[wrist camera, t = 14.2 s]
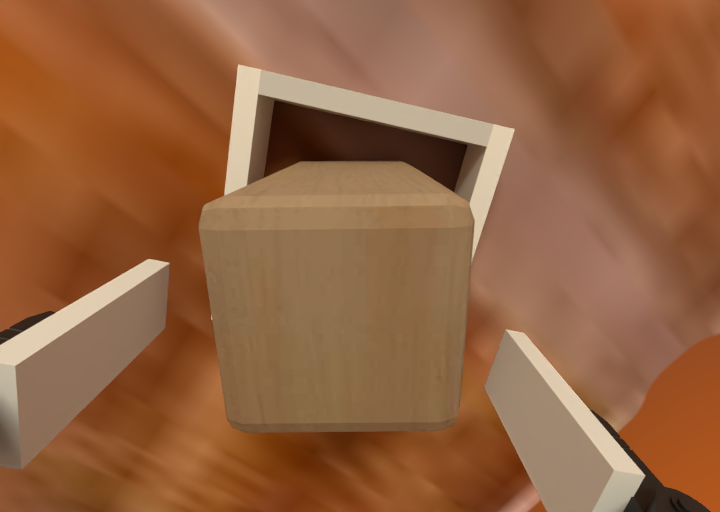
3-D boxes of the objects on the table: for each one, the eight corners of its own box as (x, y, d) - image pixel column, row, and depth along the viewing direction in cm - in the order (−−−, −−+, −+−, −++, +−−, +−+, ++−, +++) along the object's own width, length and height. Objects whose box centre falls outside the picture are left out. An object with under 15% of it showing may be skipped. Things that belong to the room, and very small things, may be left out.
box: (231, 294, 35) (211, 319, 30) (258, 75, 30) (238, 64, 25) (428, 333, 36) (438, 363, 32) (490, 130, 31) (514, 129, 26)
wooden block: (298, 273, 35) (220, 443, 16) (290, 160, 32) (182, 201, 12) (407, 272, 35) (464, 441, 15) (410, 159, 31) (485, 197, 12)
